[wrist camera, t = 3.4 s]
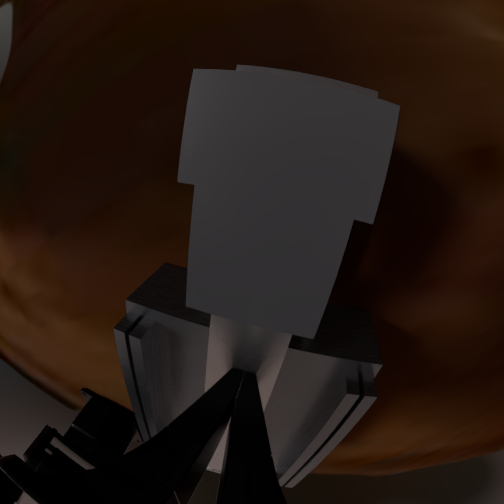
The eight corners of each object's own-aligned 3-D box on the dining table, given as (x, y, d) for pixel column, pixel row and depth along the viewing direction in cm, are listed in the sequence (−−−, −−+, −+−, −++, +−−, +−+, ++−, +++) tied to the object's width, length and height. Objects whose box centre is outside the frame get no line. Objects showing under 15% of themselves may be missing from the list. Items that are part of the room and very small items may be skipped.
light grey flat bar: (238, 467, 14) (236, 474, 13) (203, 458, 14) (200, 464, 14) (294, 318, 8) (293, 331, 8) (217, 299, 8) (211, 310, 8)
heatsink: (296, 441, 17) (287, 496, 13) (170, 408, 18) (145, 457, 14) (385, 275, 11) (418, 352, 6) (166, 223, 12) (96, 272, 8)
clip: (324, 264, 10) (329, 342, 6) (222, 240, 11) (171, 301, 7) (359, 121, 8) (400, 106, 4) (244, 98, 9) (193, 68, 4)
